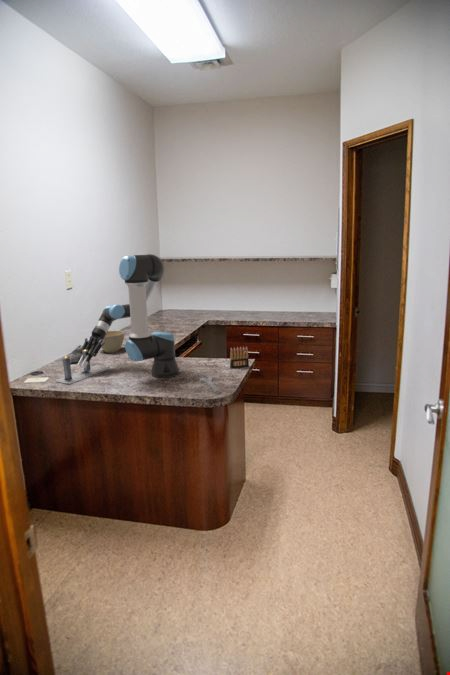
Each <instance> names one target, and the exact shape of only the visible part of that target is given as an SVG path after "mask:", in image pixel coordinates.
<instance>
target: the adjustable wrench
mask: <svg viewBox="0 0 450 675" xmlns="http://www.w3.org/2000/svg"><path fill="white" fill-rule="evenodd" d="M203 382H205V383H204V384H206V385H207V386H208V387H211V388H212V389H211V388H210V389H211V390H212V391H213V392H215V393H216V395H218V394H217V393H220V394H221V390H220V389H219V388H218V387H217V385H216V384H215V383H214V382H213V377H212V376H210V375H206V376H205V377H202V376H201V377H200V383H203ZM215 393H214V394H215Z"/></svg>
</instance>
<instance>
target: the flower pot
mask: <svg viewBox="0 0 450 675" xmlns="http://www.w3.org/2000/svg"><path fill="white" fill-rule="evenodd" d="M124 339H125V332H124V331H122V330H108V332H107V333H106V335H105V337H104V339H102V341H104V342H105V343H104V344H103V345H102V347H101V348H100V349H102V350H103V351H104V352H105V353H108V354H109V353H110V354H112V353H116V352H119V350H120V349H121V347H122V345H123V344H124Z"/></svg>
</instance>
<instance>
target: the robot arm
mask: <svg viewBox="0 0 450 675" xmlns="http://www.w3.org/2000/svg"><path fill="white" fill-rule="evenodd" d="M118 269H119V270H118V272H119V276H120V278H121V279H122V280H123V281H124V284H125V285H127V288H128V302H129V303H128V304H114V305H106V306H105V308H104V309H103V310H102V313H101V314H100V317H99V318H98V321H97V322H96V323H95V325H94V327H93V329H92V331H91V336H89V337H88V338H84V343H83V345H82V346H83V347H82V349H81V351H80V353H81V354H82V352H83V351H82V350H84V349H88V351H89V354H88V355H89V356H88V355H87V356H86V358H85V359H84V361H83V355H82V356H81V357H80V360H79V362H77V366H78V367H80V368H82V367H83V369H84V368H86V366H87V364H88V362H89V361H91V359H92V358H93V357H94V358H95V357H96V356H97V354H98V353H99V351H100V350H101V349H102V348H101V347H102V345H103V344H104V343H105V342H104V341H102V339H104V337H105V335H106V333H107V332H108V331H110V330H109V329H110V328H111V326H112V324H113V323H114V322H115V321H116V320H120V319H126V318H130V327H131V328H130V329H131V332H130V334H128V340H126V341H125V343H124V349H125V352H126V355H127V356H128V358H129V359H130V360H131V361H133V362H142V361H146V360H150V359H153V363H152V367H151V371H150V373H151V376H152V377H156V378H170V377H175V376H177V375H179V374H180V368H179V365H178V362H177V360H176V346H175V336H174V334H173V333H172V332H169V331H153V332H152V333H151V332H150V331H149V321H148V319H149V318H148V307H147V306H148V305H147V303H148V301H149V298H150V297H151V295H152V293H153V291H154V289H155V287H156V285H157V284H158V283H159V282H160V281H161V280H162V278H163V277H164V275H165V265H164V263H163V260H162V259H161V258H160V257H159V256H157V255H155V254H151V253H149V254H131V255H126V256H124V257H122V258H121V260H120V263H119V267H118Z"/></svg>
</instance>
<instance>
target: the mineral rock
mask: <svg viewBox="0 0 450 675" xmlns="http://www.w3.org/2000/svg"><path fill="white" fill-rule="evenodd" d="M82 347H83V345H81V344H79V345H77V346H76V348H74V349H73V350H72V351H71V352H70V354H68V355H67V356H69V358H70V363H78V362H79V360H80V357H81V356H82V354H81V353H80V351H81V349H82Z"/></svg>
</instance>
